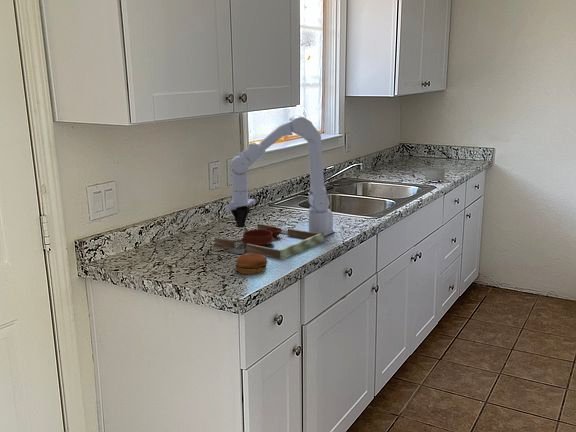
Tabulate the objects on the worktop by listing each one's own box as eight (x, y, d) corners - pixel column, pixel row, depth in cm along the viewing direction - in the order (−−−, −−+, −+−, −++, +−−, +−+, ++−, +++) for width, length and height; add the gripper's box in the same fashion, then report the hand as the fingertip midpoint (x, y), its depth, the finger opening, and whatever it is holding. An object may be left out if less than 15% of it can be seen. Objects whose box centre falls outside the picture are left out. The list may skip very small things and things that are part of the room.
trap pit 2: (282, 230, 217) (282, 229, 217) (295, 232, 213) (295, 231, 213) (276, 232, 213) (276, 231, 213) (289, 235, 210) (289, 234, 210)
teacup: (440, 184, 309) (441, 169, 307) (421, 182, 315) (422, 168, 313) (448, 180, 321) (449, 166, 319) (429, 179, 326) (430, 165, 324)
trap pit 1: (232, 248, 194) (232, 247, 193) (246, 251, 190) (246, 250, 190) (224, 251, 190) (224, 250, 190) (238, 254, 187) (238, 253, 187)
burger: (250, 277, 165) (249, 262, 164) (229, 270, 172) (228, 255, 171) (274, 269, 172) (274, 254, 171) (253, 263, 179) (252, 249, 178)
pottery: (234, 247, 195) (234, 235, 194) (263, 234, 213) (263, 222, 212) (264, 252, 190) (264, 239, 189) (291, 237, 207) (291, 225, 206)
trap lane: (259, 229, 218) (259, 222, 217) (323, 241, 202) (324, 232, 201) (214, 245, 198) (214, 236, 197) (282, 259, 182) (282, 250, 181)
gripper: (244, 186, 211) (244, 221, 214) (217, 192, 200) (219, 229, 203) (259, 188, 207) (259, 224, 210) (233, 194, 196) (234, 232, 199)
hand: (240, 227), depth 206 cm, fingers closed
